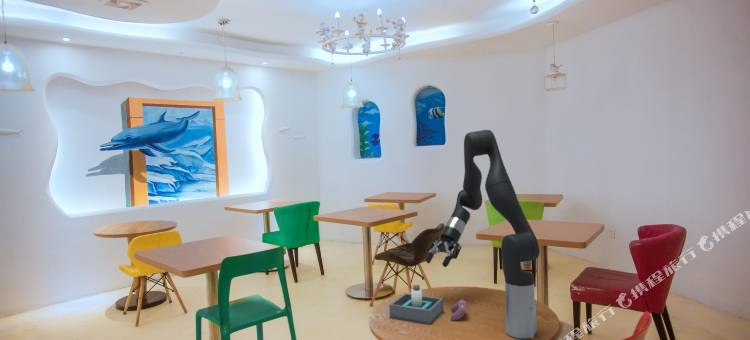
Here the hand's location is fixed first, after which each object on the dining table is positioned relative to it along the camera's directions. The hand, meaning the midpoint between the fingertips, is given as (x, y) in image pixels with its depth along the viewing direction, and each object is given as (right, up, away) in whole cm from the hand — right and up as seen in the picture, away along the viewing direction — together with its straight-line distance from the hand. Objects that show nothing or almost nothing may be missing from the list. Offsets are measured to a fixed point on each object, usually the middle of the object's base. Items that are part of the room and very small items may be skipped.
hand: (435, 264), depth 174 cm
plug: (-8, -17, -7) cm, 20 cm away
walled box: (-8, -18, -7) cm, 20 cm away
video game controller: (+7, -18, -10) cm, 21 cm away
